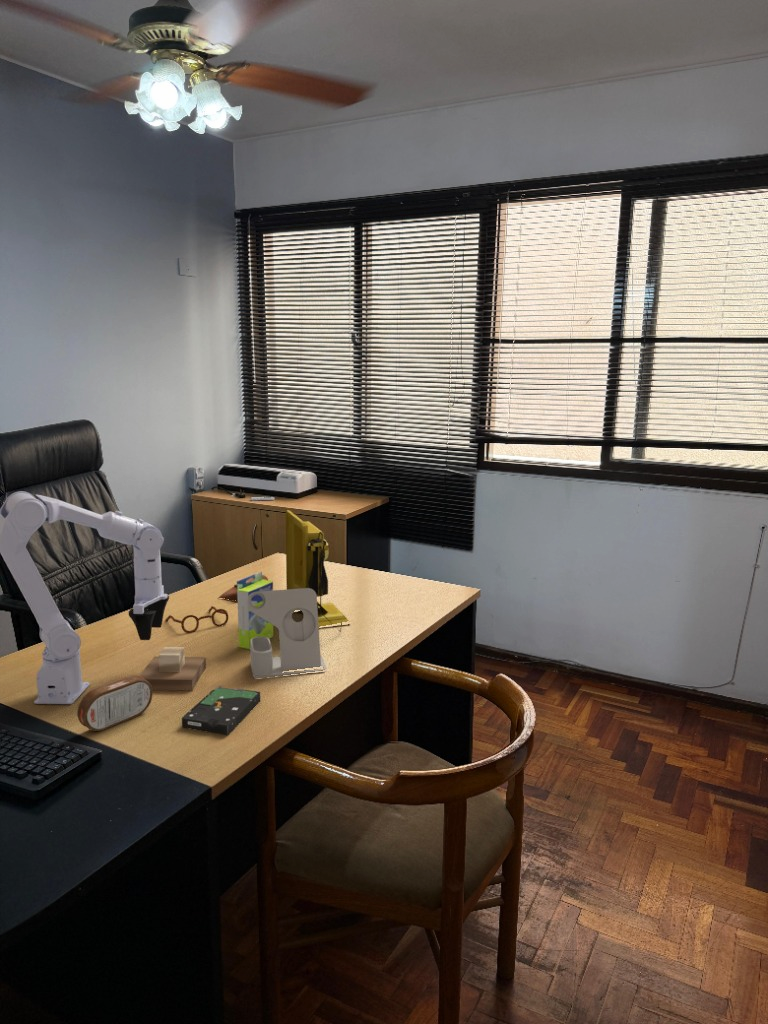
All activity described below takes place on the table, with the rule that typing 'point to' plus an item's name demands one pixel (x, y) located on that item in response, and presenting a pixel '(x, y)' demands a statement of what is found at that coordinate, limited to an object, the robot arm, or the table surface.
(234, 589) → the sunglasses case
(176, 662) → the block
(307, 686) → the table surface
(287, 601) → the phone holder
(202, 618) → the glasses
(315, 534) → the yellow computer monitor
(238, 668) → the table surface
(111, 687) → the tin
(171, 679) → the plinth
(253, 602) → the box
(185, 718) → the disk drive
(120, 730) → the table surface
